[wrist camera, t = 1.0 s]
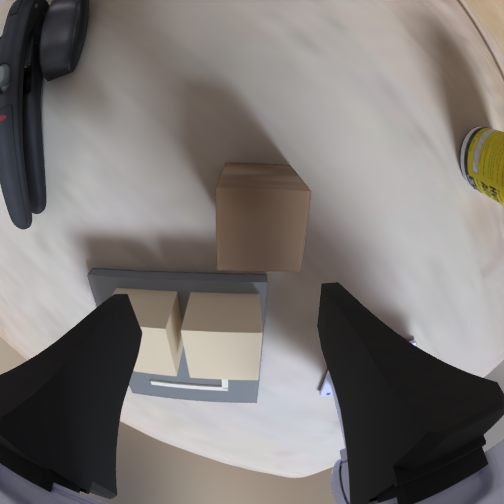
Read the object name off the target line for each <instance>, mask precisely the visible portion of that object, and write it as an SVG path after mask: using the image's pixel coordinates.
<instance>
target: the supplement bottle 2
mask: <svg viewBox="0 0 504 504" xmlns="http://www.w3.org/2000/svg"><path fill="white" fill-rule="evenodd" d="M460 161H461V170H462V173H463V176H464V178H465V180H466V181H467V183H468V184H469V185H470V186H471V187H473V188H474V189H476V190H478V191H479V192H481V193H483V194H485V195H487V196H488V197H490V198H492V199H494V200H495V201H497V202H499V203H500V204H502V205H504V132H501V131H498V130H494V129H491V128H486V127H476V128H474V129H472V130H471V131H470V132H469V133H468V134H467V135H466V137H465V139H464V141H463V144H462V148H461V157H460Z"/></svg>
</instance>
